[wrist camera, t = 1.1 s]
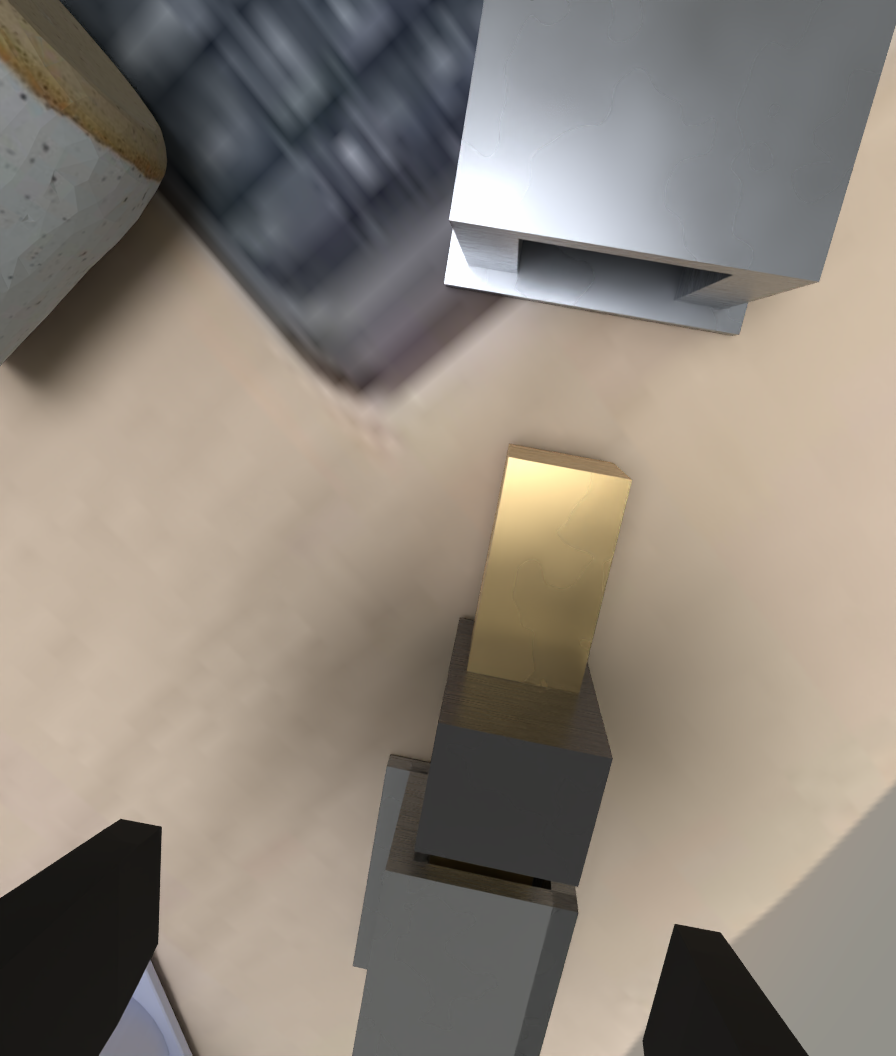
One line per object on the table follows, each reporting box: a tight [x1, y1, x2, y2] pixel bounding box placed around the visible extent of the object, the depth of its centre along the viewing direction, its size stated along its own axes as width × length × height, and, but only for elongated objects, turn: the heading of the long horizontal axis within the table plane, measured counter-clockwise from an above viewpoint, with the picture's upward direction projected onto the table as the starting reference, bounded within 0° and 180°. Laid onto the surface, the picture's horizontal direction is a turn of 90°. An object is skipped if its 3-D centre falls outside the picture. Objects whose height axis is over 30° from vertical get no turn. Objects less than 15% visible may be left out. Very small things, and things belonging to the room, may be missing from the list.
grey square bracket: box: [444, 0, 896, 336], centre depth 13 cm, size 6×7×5 cm
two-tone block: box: [414, 444, 632, 887], centre depth 16 cm, size 17×3×6 cm, turn 170°
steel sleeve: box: [352, 755, 578, 1056], centre depth 18 cm, size 8×6×4 cm
